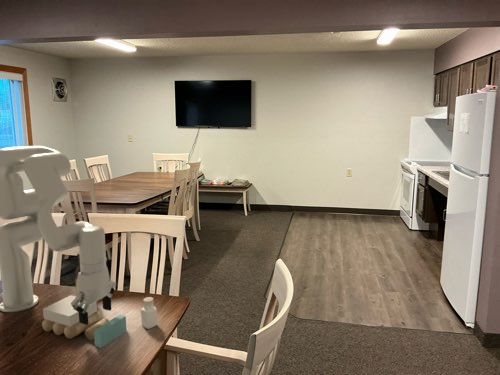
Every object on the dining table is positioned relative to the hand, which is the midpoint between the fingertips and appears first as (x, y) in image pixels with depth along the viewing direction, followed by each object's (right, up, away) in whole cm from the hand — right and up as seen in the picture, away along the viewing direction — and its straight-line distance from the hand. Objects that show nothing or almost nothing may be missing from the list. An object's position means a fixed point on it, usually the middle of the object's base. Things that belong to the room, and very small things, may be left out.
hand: (95, 316), depth 126 cm
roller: (+1, -6, +1) cm, 6 cm away
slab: (-10, -1, +5) cm, 11 cm away
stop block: (+5, -6, -2) cm, 8 cm away
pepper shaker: (+16, -5, +6) cm, 18 cm away
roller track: (-6, -5, +4) cm, 9 cm away
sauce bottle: (-12, -3, +22) cm, 25 cm away
